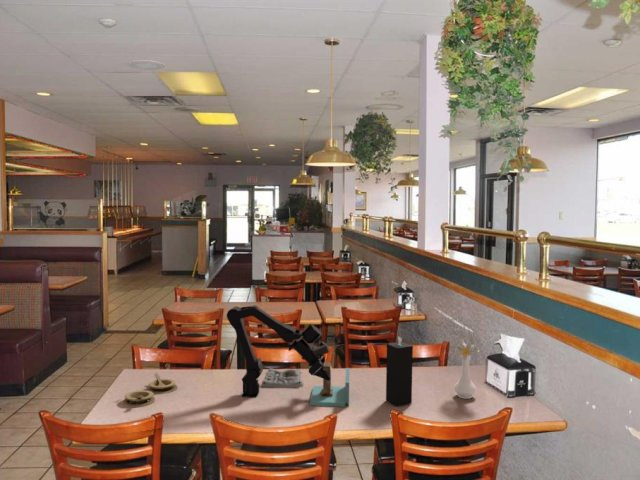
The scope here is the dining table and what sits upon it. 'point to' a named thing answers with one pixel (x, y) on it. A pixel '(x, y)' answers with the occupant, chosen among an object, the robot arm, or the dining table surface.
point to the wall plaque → (283, 379)
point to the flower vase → (465, 367)
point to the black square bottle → (399, 373)
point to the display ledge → (338, 397)
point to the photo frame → (327, 384)
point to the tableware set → (149, 392)
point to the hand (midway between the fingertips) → (330, 376)
